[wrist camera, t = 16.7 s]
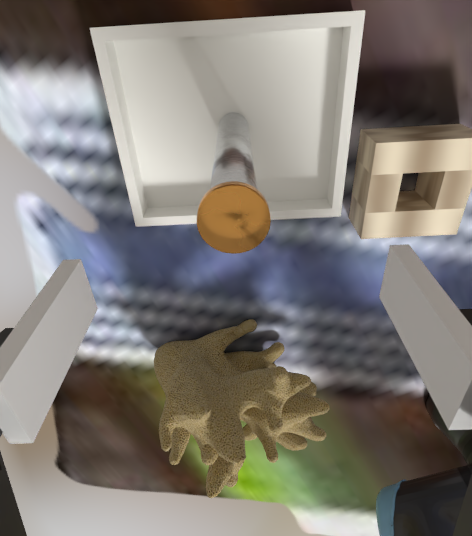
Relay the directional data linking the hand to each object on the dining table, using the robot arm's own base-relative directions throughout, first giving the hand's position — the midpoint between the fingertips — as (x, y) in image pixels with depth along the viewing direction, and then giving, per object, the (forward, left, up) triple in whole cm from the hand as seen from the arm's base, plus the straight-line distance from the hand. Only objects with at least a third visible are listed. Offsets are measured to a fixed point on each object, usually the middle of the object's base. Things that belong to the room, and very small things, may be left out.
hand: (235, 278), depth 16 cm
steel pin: (0, 0, -25) cm, 25 cm away
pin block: (-18, +6, -26) cm, 32 cm away
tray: (0, 0, -26) cm, 26 cm away
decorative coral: (+1, +34, -26) cm, 43 cm away
